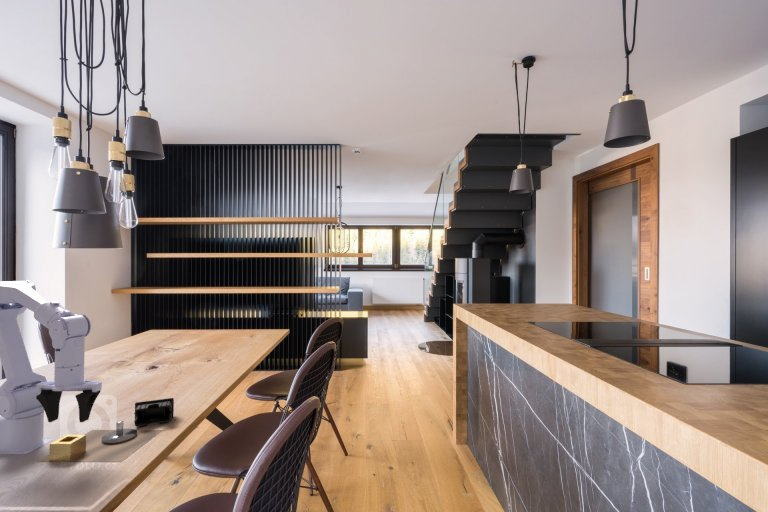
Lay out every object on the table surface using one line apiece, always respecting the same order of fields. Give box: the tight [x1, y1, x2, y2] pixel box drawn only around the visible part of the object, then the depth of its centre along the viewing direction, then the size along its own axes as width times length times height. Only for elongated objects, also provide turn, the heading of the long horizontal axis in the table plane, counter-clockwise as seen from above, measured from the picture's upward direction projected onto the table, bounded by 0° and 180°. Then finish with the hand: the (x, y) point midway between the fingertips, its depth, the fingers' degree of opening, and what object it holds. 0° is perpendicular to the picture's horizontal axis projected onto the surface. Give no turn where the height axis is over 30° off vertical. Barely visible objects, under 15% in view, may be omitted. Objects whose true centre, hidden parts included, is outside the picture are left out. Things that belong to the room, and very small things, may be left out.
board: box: [36, 429, 164, 463], centre depth 103 cm, size 20×18×1 cm
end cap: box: [133, 397, 175, 427], centre depth 118 cm, size 10×7×7 cm
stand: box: [101, 420, 138, 444], centre depth 107 cm, size 8×8×4 cm
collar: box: [48, 434, 86, 461], centre depth 97 cm, size 5×5×4 cm
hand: (68, 420), depth 97 cm, fingers open, 7 cm apart
